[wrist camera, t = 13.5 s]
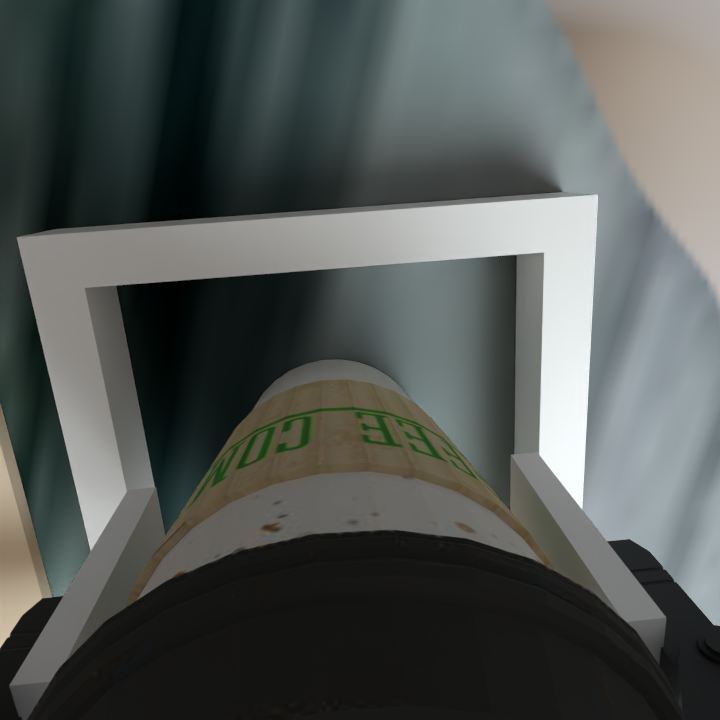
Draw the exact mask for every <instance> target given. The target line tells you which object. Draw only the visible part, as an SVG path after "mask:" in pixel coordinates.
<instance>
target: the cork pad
mask: <svg viewBox="0 0 720 720" xmlns="http://www.w3.org/2000/svg"><path fill="white" fill-rule="evenodd" d="M51 597H52V595H51V591H50V587H49V584H48V580H47V576H46V572H45V569H44V565H43V561H42V557H41V554H40V550H39V546H38V542H37V539H36V535H35V531H34V527H33V524H32V520H31V516H30V512H29V509H28V505H27V501H26V497H25V493H24V490H23V486H22V482H21V478H20V475H19V471H18V467H17V463H16V460H15V456H14V452H13V448H12V445H11V441H10V437H9V433H8V430H7V426H6V422H5V418H4V415H3V411H2V407H1V403H0V648H1V646H2V645H3V643H4V642H5V640H6V639H7V637H10V633H11V631H12V630H13V628H14V627H15V625H16V624H17V622H18V621H19V619H20V618H21V617H22V615H23V614H24V613H26V612H27V611H28V610H29V609H30V608H32V607H33V606H34V605H35V604H36V603H37V602H39V601H40V600H41V599H42V598H51Z"/></svg>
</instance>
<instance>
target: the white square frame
mask: <svg viewBox="0 0 720 720" xmlns="http://www.w3.org/2000/svg"><path fill="white" fill-rule="evenodd" d="M597 207H598V195H596V194H583V193H570V192H557V193H543V194H529V195H515V196H502V197H488V198H474V199H461V200H447V201H433V202H419V203H406V204H392V205H378V206H365V207H351V208H337V209H324V210H310V211H296V212H282V213H269V214H255V215H241V216H228V217H214V218H200V219H187V220H173V221H159V222H145V223H132V224H118V225H104V226H91V227H77V228H63V229H53V230H49V231H44V232H39V233H35V234H30V235H25V236H20V237H17V241H18V245H19V250H20V254H21V258H22V262H23V267H24V271H25V275H26V279H27V283H28V288H29V292H30V296H31V300H32V305H33V309H34V313H35V317H36V322H37V326H38V330H39V334H40V338H41V343H42V347H43V351H44V355H45V360H46V364H47V368H48V372H49V377H50V381H51V385H52V389H53V393H54V398H55V402H56V406H57V410H58V415H59V419H60V423H61V427H62V432H63V436H64V440H65V444H66V449H67V453H68V457H69V461H70V465H71V470H72V474H73V478H74V482H75V487H76V491H77V495H78V499H79V504H80V508H81V512H82V516H83V520H84V525H85V529H86V533H87V537H88V542H89V546H90V550H92V548H93V547H94V545H95V543H96V542H97V540H98V538H99V537H100V535H101V533H102V532H103V530H104V528H105V527H106V525H107V524H108V522H109V520H110V519H111V517H112V515H113V514H114V512H115V510H116V509H117V507H118V505H119V504H120V502H121V500H122V499H123V497H124V495H125V494H126V492H127V490H130V489H141V488H152V487H155V486H154V481H153V475H152V470H151V465H150V460H149V454H148V449H147V444H146V439H145V434H144V428H143V423H142V418H141V413H140V407H139V402H138V397H137V392H136V387H135V381H134V376H133V371H132V366H131V360H130V355H129V350H128V345H127V340H126V334H125V329H124V324H123V319H122V313H121V308H120V303H119V298H118V293H117V287H116V285H129V284H142V283H155V282H168V281H181V280H194V279H207V278H220V277H233V276H246V275H259V274H272V273H284V272H297V271H310V270H323V269H336V268H349V267H362V266H375V265H388V264H401V263H414V262H427V261H440V260H453V259H466V258H479V257H492V256H505V255H517V273H516V359H515V445H514V454H525V453H536V452H537V453H538V454H539V455H540V456H541V458H542V459H543V460H544V462H545V463H546V464H547V465H548V467H549V468H550V469H551V471H552V472H553V473H554V474H555V476H556V477H557V478H558V479H559V481H560V482H561V483H562V485H563V486H564V487H565V488H566V490H567V491H568V492H569V494H570V495H571V496H572V497H573V499H574V500H575V501H576V503H577V504H578V505H579V506H580V508H581V509H582V502H583V483H584V463H585V443H586V424H587V404H588V384H589V365H590V345H591V325H592V306H593V286H594V266H595V246H596V227H597Z"/></svg>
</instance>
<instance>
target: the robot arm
mask: <svg viewBox="0 0 720 720" xmlns="http://www.w3.org/2000/svg"><path fill="white" fill-rule="evenodd" d="M510 511H511V512H512V513H513V514H514V515H515V517H516V518H517V519H518V520H519V521H520V523H521V524H522V525H523V526H524V527H525V528H526V530H527V531H528V532H529V533H530V535H531V536H532V537H533V539H534V540H535V542H536V543H537V544H538V546H539V547H540V549H541V550H542V552H543V553H544V554H545V556H546V557H547V559H548V560H549V561H550V563H551V564H552V567H553V569H554V571H556V572H558V573H560V574H562V575H563V576H565V577H567V578H569V579H571V580H573V581H574V582H576V583H578V584H580V585H582V586H583V587H585V588H587V589H589V590H591V591H592V592H593V593H594V594H596V595H597V596H598V597H599V598H600V599H601V600H602V601H603V602H605V603H606V604H607V605H608V606H609V607H610V608H611V609H612V610H613V611H615V612H616V613H617V614H618V615H619V616H620V617H621V618H622V619H624V620H625V621H626V622H627V623H628V624H629V625H630V626H631V627H633V628H634V629H635V630H636V631H637V633H638V634H639V636H640V637H641V639H642V640H643V642H644V643H645V645H646V646H647V648H648V649H649V651H650V652H651V654H652V655H653V656H654V658H655V659H656V661H657V662H658V664H659V665H660V667H661V668H662V670H663V671H664V673H665V674H666V676H667V679H668V681H669V682H670V685H671V688H672V691H673V694H674V697H675V700H676V702H677V704H678V705H679V706H680V708H681V711H682V714H683V717H684V720H720V626H715V625H713V624H712V623H711V622H710V621H709V619H708V618H707V617H706V616H705V615H704V614H703V612H702V611H701V610H700V609H699V608H698V607H697V606H696V604H695V603H694V602H693V601H692V600H691V599H690V598H689V596H688V595H687V594H686V593H685V592H684V591H683V590H682V588H681V587H680V586H679V585H678V584H677V583H676V582H675V583H674V579H673V578H672V577H671V576H670V575H669V574H668V572H667V571H666V570H663V567H662V565H661V564H660V563H659V562H658V561H657V560H656V559H655V557H654V556H653V555H652V554H651V553H650V552H649V551H648V550H646V549H644V548H643V547H641V546H639V545H638V544H636V543H634V542H633V541H631V540H630V539H628V540H618V541H606V540H605V538H604V537H603V536H602V535H601V533H600V532H599V531H598V529H597V528H596V527H595V526H594V524H593V523H592V522H591V520H590V519H589V518H588V517H587V515H586V514H585V513H584V511H583V510H582V509H581V508H580V506H579V505H578V504H577V503H576V501H575V500H574V499H573V497H572V496H571V495H570V494H569V492H568V491H567V490H566V488H565V487H564V486H563V485H562V483H561V482H560V481H559V479H558V478H557V477H556V476H555V474H554V473H553V472H552V471H551V469H550V468H549V467H548V465H547V464H546V463H545V462H544V460H543V459H542V458H541V456H540V455H539V454H538V453H537V452H536V453H525V454H514V455H511V478H510ZM164 537H165V531H164V526H163V521H162V516H161V510H160V505H159V500H158V495H157V489H156V487H152V488H141V489H130V490H127V492H126V494H125V495H124V497H123V499H122V500H121V502H120V504H119V505H118V507H117V509H116V510H115V512H114V514H113V515H112V517H111V519H110V520H109V522H108V524H107V525H106V527H105V528H104V530H103V532H102V533H101V535H100V537H99V538H98V540H97V542H96V543H95V545H94V547H93V548H92V550H91V552H90V553H89V555H88V557H87V558H86V560H85V561H84V563H83V565H82V566H81V568H80V570H79V571H78V573H77V575H76V576H75V578H74V580H73V581H72V583H71V585H70V586H69V588H68V590H67V591H66V593H65V595H64V596H61V597H51V598H42V599H41V600H40V601H39V602H37V603H36V604H35V605H34V606H33V607H32V608H30V609H29V610H28V611H27V612H26V613H24V614H23V615H22V617H21V618H20V619H19V621H18V622H17V624H16V625H15V627H14V628H13V630H12V631H11V633H10V637H7V639H6V640H5V642H4V643H3V645H2V646H1V648H0V720H27V719H28V717H29V715H30V714H31V712H32V711H33V709H34V707H35V706H36V704H37V702H38V701H39V699H40V698H41V696H42V694H43V693H44V691H45V689H46V688H47V686H48V685H49V683H50V681H51V680H52V678H53V676H54V675H55V673H56V672H57V670H58V668H59V667H60V666H61V665H62V664H63V663H64V662H65V661H66V660H67V659H68V658H69V657H70V656H71V655H72V654H73V653H74V652H75V651H76V650H77V649H78V648H79V647H80V646H81V645H82V644H83V643H84V642H85V641H86V640H87V639H88V638H89V637H90V636H91V635H92V634H93V633H94V632H95V631H96V630H97V629H98V628H99V627H100V626H101V625H102V624H103V623H104V622H105V621H106V620H108V619H109V618H111V617H112V616H114V615H115V614H117V613H118V612H120V611H121V610H123V609H124V608H125V607H126V604H127V601H128V598H129V595H130V592H131V589H132V588H133V586H134V584H135V583H136V581H137V580H138V578H139V576H140V575H141V573H142V572H143V570H144V568H145V567H146V565H147V564H148V562H149V561H150V559H151V557H152V556H153V554H154V553H155V551H156V550H157V548H158V546H159V545H160V543H161V542H162V540H163V539H164Z"/></svg>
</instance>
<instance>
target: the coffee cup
mask: <svg viewBox="0 0 720 720" xmlns="http://www.w3.org/2000/svg"><path fill="white" fill-rule="evenodd" d="M27 720H684V717H683V714H682V711H681V708H680V706H679V705H678V704H677V702H676V700H675V697H674V694H673V691H672V688H671V685H670V682H669V681H668V679H667V676H666V674H665V673H664V671H663V670H662V668H661V667H660V665H659V664H658V662H657V661H656V659H655V658H654V656H653V655H652V654H651V652H650V651H649V649H648V648H647V646H646V645H645V643H644V642H643V640H642V639H641V637H640V636H639V634H638V633H637V631H636V630H635V629H634V628H633V627H631V626H630V625H629V624H628V623H627V622H626V621H625V620H624V619H622V618H621V617H620V616H619V615H618V614H617V613H616V612H615V611H613V610H612V609H611V608H610V607H609V606H608V605H607V604H606V603H605V602H603V601H602V600H601V599H600V598H599V597H598V596H597V595H596V594H594V593H593V592H592V591H591V590H589V589H587V588H585V587H583V586H582V585H580V584H578V583H576V582H574V581H573V580H571V579H569V578H567V577H565V576H563V575H562V574H560V573H558V572H556V571H554V569H553V567H552V564H551V563H550V561H549V560H548V559H547V557H546V556H545V554H544V553H543V552H542V550H541V549H540V547H539V546H538V544H537V543H536V542H535V540H534V539H533V537H532V536H531V535H530V533H529V532H528V531H527V530H526V528H525V527H524V526H523V525H522V524H521V523H520V521H519V520H518V519H517V518H516V517H515V515H514V514H513V513H512V512H511V511H510V510H509V508H508V507H507V506H506V505H505V504H504V503H503V501H502V500H501V499H500V498H499V497H498V496H497V494H496V493H495V492H494V491H493V490H492V489H491V487H490V486H489V485H488V484H487V483H486V481H485V480H484V479H483V478H482V477H481V476H480V474H479V473H478V472H477V471H476V470H475V469H474V467H473V466H472V465H471V464H470V463H469V462H468V460H467V459H466V458H465V457H464V456H463V454H462V453H461V452H460V451H459V450H458V449H457V447H456V446H455V445H454V444H453V443H452V442H451V440H450V439H449V438H448V437H447V436H446V435H445V433H444V432H443V431H442V430H441V429H440V428H439V426H438V425H437V424H436V423H435V422H434V420H433V419H432V418H431V417H429V416H428V415H427V414H426V413H425V412H424V411H423V410H422V409H421V408H420V407H418V406H417V405H416V404H415V403H414V402H412V400H411V399H410V398H409V397H408V395H407V394H406V393H405V392H404V390H403V389H402V388H401V387H400V386H399V385H398V384H397V383H396V382H395V381H393V380H392V379H391V378H390V377H389V376H387V375H386V374H384V373H382V372H381V371H379V370H377V369H376V368H374V367H371V366H368V365H365V364H362V363H360V362H355V361H349V360H342V359H334V360H320V361H316V362H311V363H307V364H304V365H302V366H299V367H297V368H295V369H292V370H290V371H288V372H287V373H285V374H284V375H283V376H281V377H280V378H278V379H277V380H275V381H274V382H273V383H272V384H271V385H270V386H269V387H268V389H267V390H266V391H265V392H264V393H263V394H262V396H261V397H260V399H259V400H258V402H257V404H256V405H255V407H254V408H253V410H252V411H251V412H250V413H249V415H248V416H247V417H246V418H245V419H244V420H243V421H242V422H241V423H240V424H239V425H238V426H237V427H236V428H235V430H234V431H233V433H232V434H231V436H230V437H229V439H228V441H227V442H226V444H225V445H224V447H223V448H222V450H221V451H220V453H219V454H218V456H217V457H216V459H215V460H214V462H213V464H212V465H211V467H210V468H209V470H208V471H207V473H206V474H205V476H204V477H203V479H202V480H201V482H200V484H199V485H198V487H197V488H196V490H195V491H194V493H193V494H192V496H191V497H190V499H189V500H188V502H187V503H186V505H185V507H184V508H183V510H182V511H181V513H180V514H179V516H178V517H177V519H176V520H175V522H174V523H173V525H172V526H171V528H170V530H169V531H168V533H167V534H166V536H165V537H164V539H163V540H162V542H161V543H160V545H159V546H158V548H157V550H156V551H155V553H154V554H153V556H152V557H151V559H150V561H149V562H148V564H147V565H146V567H145V568H144V570H143V572H142V573H141V575H140V576H139V578H138V580H137V581H136V583H135V584H134V586H133V588H132V589H131V592H130V595H129V598H128V601H127V604H126V607H125V608H124V609H123V610H121V611H120V612H118V613H117V614H115V615H114V616H112V617H111V618H109V619H108V620H106V621H105V622H104V623H103V624H102V625H101V626H100V627H99V628H98V629H97V630H96V631H95V632H94V633H93V634H92V635H91V636H90V637H89V638H88V639H87V640H86V641H85V642H84V643H83V644H82V645H81V646H80V647H79V648H78V649H77V650H76V651H75V652H74V653H73V654H72V655H71V656H70V657H69V658H68V659H67V660H66V661H65V662H64V663H63V664H62V665H61V666H60V667H59V668H58V670H57V672H56V673H55V675H54V676H53V678H52V680H51V681H50V683H49V685H48V686H47V688H46V689H45V691H44V693H43V694H42V696H41V698H40V699H39V701H38V702H37V704H36V706H35V707H34V709H33V711H32V712H31V714H30V715H29V717H28V719H27Z"/></svg>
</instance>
